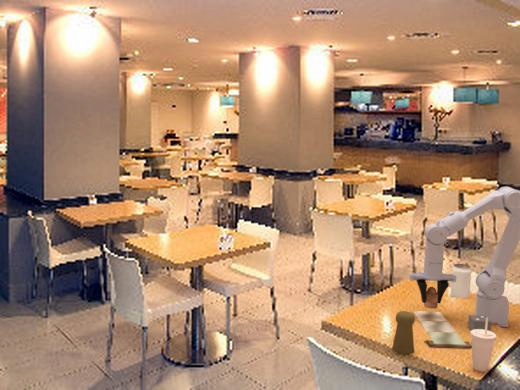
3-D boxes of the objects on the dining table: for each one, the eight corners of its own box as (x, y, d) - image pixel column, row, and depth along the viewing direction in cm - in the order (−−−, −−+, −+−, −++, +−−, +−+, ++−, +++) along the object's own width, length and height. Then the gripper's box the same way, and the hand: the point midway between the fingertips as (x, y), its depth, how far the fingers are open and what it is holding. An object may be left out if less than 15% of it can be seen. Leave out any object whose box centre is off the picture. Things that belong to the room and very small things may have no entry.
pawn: (435, 304, 182) (436, 285, 181) (439, 308, 177) (440, 289, 176) (422, 303, 182) (423, 284, 181) (425, 308, 177) (427, 288, 177)
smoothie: (491, 376, 141) (495, 324, 139) (465, 369, 144) (469, 318, 142) (495, 367, 146) (500, 316, 144) (470, 360, 150) (474, 311, 148)
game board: (444, 314, 184) (444, 311, 184) (471, 348, 158) (472, 345, 158) (407, 313, 185) (408, 310, 185) (429, 347, 158) (429, 343, 158)
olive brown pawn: (415, 355, 152) (417, 317, 151) (392, 353, 154) (394, 315, 152) (413, 346, 158) (415, 309, 157) (391, 344, 159) (394, 307, 158)
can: (471, 300, 199) (474, 268, 197) (453, 300, 199) (456, 268, 197) (465, 294, 205) (467, 263, 204) (447, 294, 206) (450, 263, 204)
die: (483, 331, 171) (485, 315, 170) (490, 337, 166) (491, 321, 166) (467, 330, 171) (468, 314, 171) (473, 336, 166) (474, 320, 166)
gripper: (452, 258, 181) (449, 298, 183) (408, 257, 181) (405, 297, 183) (459, 264, 174) (456, 306, 176) (413, 263, 175) (410, 304, 177)
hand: (431, 302), depth 179 cm, fingers closed on pawn, 4 cm apart
